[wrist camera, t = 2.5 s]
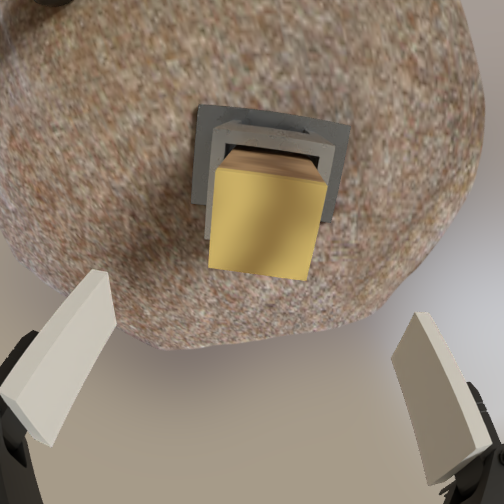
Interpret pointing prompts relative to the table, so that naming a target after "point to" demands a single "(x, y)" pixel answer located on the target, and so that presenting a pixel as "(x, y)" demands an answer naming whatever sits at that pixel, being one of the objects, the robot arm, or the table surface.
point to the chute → (266, 136)
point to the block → (266, 212)
